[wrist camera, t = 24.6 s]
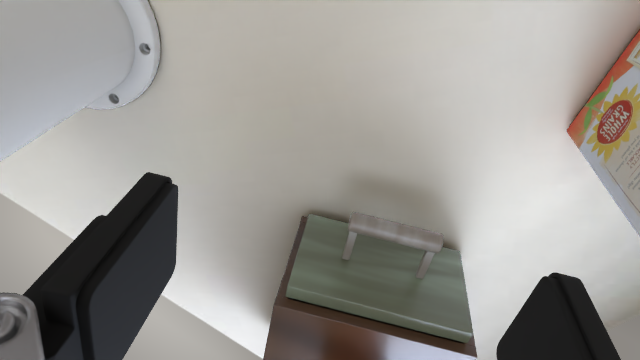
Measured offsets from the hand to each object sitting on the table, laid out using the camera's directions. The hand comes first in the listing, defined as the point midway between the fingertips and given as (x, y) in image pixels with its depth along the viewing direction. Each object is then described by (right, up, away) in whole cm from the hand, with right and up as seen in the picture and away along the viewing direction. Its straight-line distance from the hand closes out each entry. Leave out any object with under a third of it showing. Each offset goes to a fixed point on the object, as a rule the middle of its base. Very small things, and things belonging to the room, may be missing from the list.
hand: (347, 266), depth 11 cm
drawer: (+4, -7, +31) cm, 32 cm away
